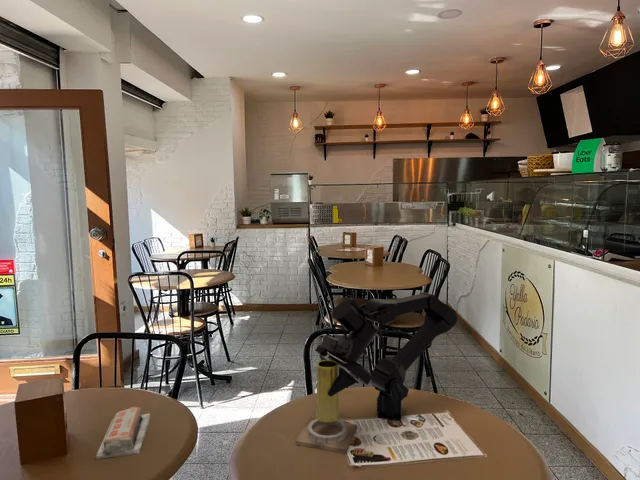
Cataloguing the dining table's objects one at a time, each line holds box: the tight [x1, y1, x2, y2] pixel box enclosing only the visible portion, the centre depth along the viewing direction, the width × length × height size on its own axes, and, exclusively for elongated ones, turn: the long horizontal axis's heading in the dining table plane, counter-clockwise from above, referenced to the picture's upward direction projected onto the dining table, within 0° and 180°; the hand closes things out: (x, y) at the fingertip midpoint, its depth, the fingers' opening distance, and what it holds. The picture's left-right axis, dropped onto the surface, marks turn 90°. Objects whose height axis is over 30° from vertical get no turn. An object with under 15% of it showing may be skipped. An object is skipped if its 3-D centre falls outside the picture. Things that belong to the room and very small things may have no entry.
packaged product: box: [95, 406, 151, 460], centre depth 113 cm, size 18×5×10 cm
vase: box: [315, 360, 340, 422], centre depth 112 cm, size 6×6×14 cm
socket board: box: [295, 417, 358, 454], centre depth 113 cm, size 13×12×2 cm
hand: (322, 391), depth 111 cm, fingers closed on vase, 5 cm apart
